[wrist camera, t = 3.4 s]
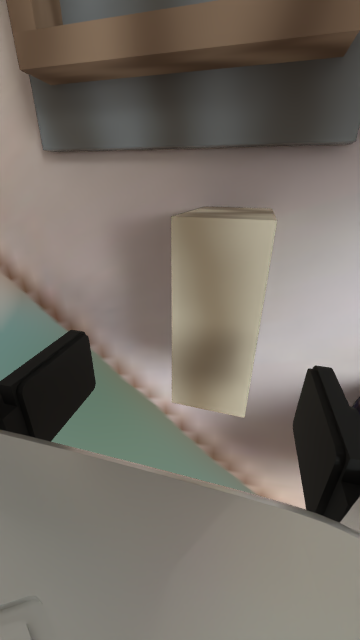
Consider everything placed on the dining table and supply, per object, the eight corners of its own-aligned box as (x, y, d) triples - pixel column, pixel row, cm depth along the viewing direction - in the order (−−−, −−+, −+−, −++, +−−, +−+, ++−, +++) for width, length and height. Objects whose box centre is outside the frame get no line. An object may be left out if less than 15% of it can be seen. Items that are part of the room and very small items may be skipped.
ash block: (271, 208, 18) (277, 220, 11) (249, 347, 22) (244, 418, 16) (204, 206, 19) (171, 216, 12) (198, 340, 24) (171, 402, 17)
